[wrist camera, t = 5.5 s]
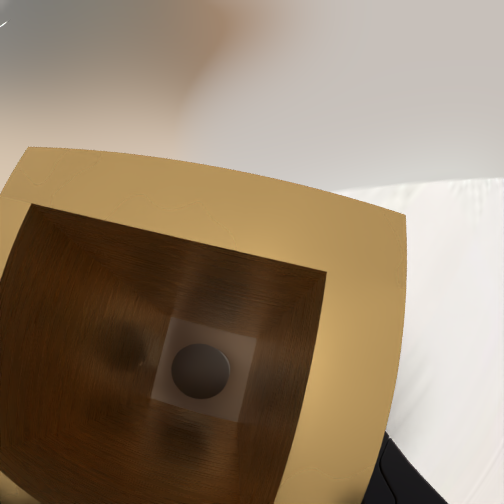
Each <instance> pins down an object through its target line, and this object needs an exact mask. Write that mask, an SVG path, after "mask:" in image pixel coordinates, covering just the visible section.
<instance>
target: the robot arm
mask: <svg viewBox="0 0 504 504" xmlns="http://www.w3.org/2000/svg"><path fill="white" fill-rule="evenodd" d="M361 504H448V503H447V502H446V501H445V500H444V499H443V498H442V497H441V496H440V494H439V493H438V492H437V491H436V490H435V489H434V488H433V487H432V486H431V485H430V484H429V483H428V482H427V481H426V480H425V479H424V478H423V477H422V476H421V475H420V473H419V472H418V471H417V470H416V469H415V468H414V467H413V466H412V464H411V463H410V462H409V461H408V460H407V458H406V457H405V456H404V455H403V453H402V452H401V451H400V450H399V448H398V447H397V446H396V444H395V443H394V442H393V440H392V439H391V438H389V435H388V434H387V432H386V431H385V433H384V437H383V440H382V444H381V447H380V451H379V454H378V457H377V460H376V463H375V467H374V470H373V472H372V475H371V478H370V481H369V484H368V486H367V489H366V492H365V494H364V497H363V499H362V502H361Z"/></svg>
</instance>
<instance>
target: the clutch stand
mask: <svg viewBox="0 0 504 504" xmlns="http://www.w3.org/2000/svg"><path fill="white" fill-rule="evenodd" d="M256 341H257V338H253V337H248V336H244V335H239V334H235V333H231V332H227V331H223V330H219V329H215V328H211V327H207V326H203V325H199V324H196V323H192V322H188V321H185V320H181V319H178V318H174V317H171V320H170V324H169V327H168V331H167V335H166V338H165V342H164V346H163V350H162V354H161V358H160V362H159V366H158V370H157V374H156V378H155V382H154V387H153V391H152V395H151V398H153V399H156V400H158V401H161V402H164V403H167V404H171V405H174V406H177V407H180V408H184V409H187V410H191V411H194V412H198V413H201V414H205V415H209V416H213V417H217V418H221V419H226V420H230V421H235V422H237V421H238V417H239V413H240V409H241V404H242V400H243V396H244V392H245V388H246V384H247V380H248V375H249V371H250V367H251V363H252V358H253V354H254V350H255V345H256Z"/></svg>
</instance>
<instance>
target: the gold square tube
mask: <svg viewBox="0 0 504 504" xmlns="http://www.w3.org/2000/svg"><path fill="white" fill-rule="evenodd" d="M406 277H407V237H406V215H404V214H401V213H398V212H395V211H392V210H389V209H385V208H382V207H379V206H376V205H373V204H369V203H366V202H363V201H359V200H356V199H352V198H349V197H345V196H342V195H338V194H334V193H331V192H327V191H323V190H319V189H316V188H311V187H308V186H304V185H300V184H295V183H291V182H287V181H283V180H278V179H274V178H270V177H265V176H260V175H255V174H251V173H246V172H241V171H236V170H231V169H225V168H220V167H214V166H209V165H204V164H197V163H192V162H185V161H178V160H172V159H165V158H158V157H151V156H143V155H135V154H126V153H117V152H107V151H95V150H83V149H68V148H47V147H28V148H27V150H26V151H25V153H24V154H23V156H22V157H21V159H20V161H19V162H18V164H17V165H16V167H15V169H14V170H13V172H12V174H11V175H10V177H9V179H8V181H7V183H6V184H5V186H4V188H3V190H2V192H1V194H0V504H361V502H362V499H363V497H364V494H365V492H366V489H367V486H368V484H369V481H370V478H371V475H372V472H373V470H374V467H375V463H376V460H377V457H378V454H379V451H380V447H381V444H382V440H383V437H384V433H385V429H386V425H387V421H388V417H389V413H390V408H391V404H392V399H393V394H394V389H395V384H396V378H397V372H398V366H399V359H400V352H401V344H402V335H403V326H404V314H405V300H406ZM171 317H174V318H178V319H181V320H185V321H188V322H192V323H196V324H199V325H203V326H207V327H211V328H215V329H219V330H223V331H227V332H231V333H235V334H239V335H244V336H248V337H253V338H257V341H256V345H255V350H254V354H253V358H252V363H251V367H250V371H249V375H248V380H247V384H246V388H245V392H244V396H243V400H242V404H241V409H240V413H239V417H238V421H237V422H235V421H230V420H226V419H221V418H217V417H213V416H209V415H205V414H201V413H198V412H194V411H191V410H187V409H184V408H180V407H177V406H174V405H171V404H167V403H164V402H161V401H158V400H156V399H153V398H151V395H152V391H153V387H154V382H155V378H156V374H157V370H158V366H159V362H160V358H161V354H162V350H163V346H164V342H165V338H166V335H167V331H168V327H169V324H170V320H171Z"/></svg>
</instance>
